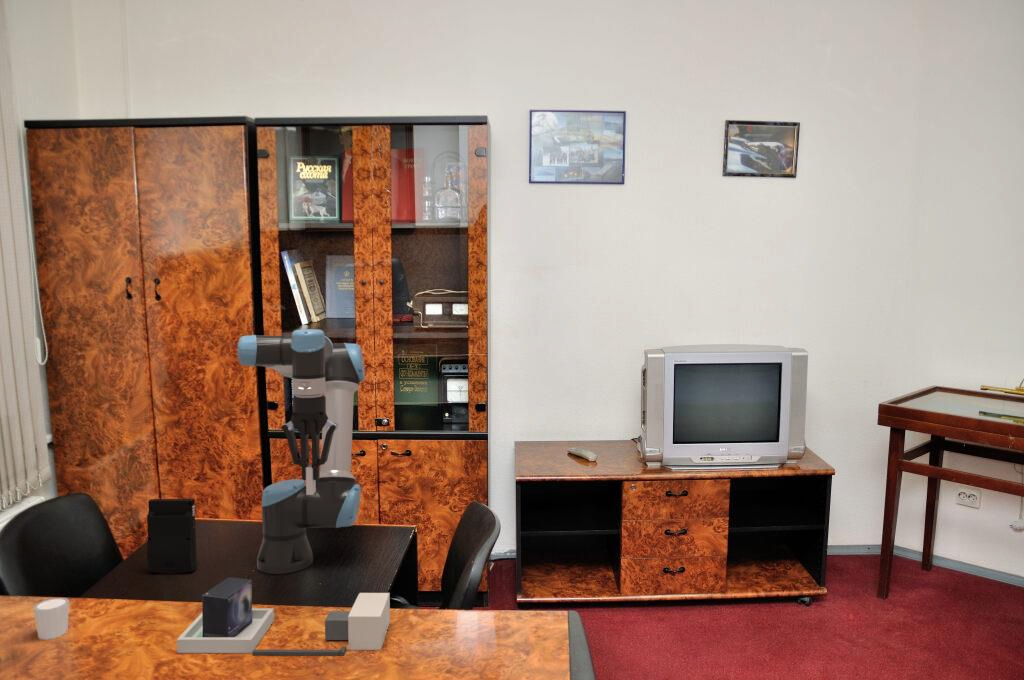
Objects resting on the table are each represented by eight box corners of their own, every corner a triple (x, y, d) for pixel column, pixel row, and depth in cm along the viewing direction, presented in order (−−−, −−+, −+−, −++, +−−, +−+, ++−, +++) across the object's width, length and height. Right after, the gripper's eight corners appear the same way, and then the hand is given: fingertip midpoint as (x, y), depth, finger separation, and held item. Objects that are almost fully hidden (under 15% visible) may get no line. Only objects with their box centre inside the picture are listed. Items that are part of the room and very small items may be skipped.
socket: (359, 623, 170) (358, 592, 170) (389, 624, 170) (389, 592, 170) (347, 649, 158) (347, 616, 158) (380, 649, 158) (380, 616, 158)
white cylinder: (33, 643, 161) (31, 613, 160) (36, 630, 167) (35, 600, 166) (69, 636, 164) (68, 606, 163) (71, 624, 170) (70, 595, 169)
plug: (330, 630, 167) (329, 611, 166) (373, 630, 167) (372, 611, 166) (325, 639, 162) (324, 620, 162) (369, 640, 162) (369, 620, 162)
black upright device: (198, 568, 203) (196, 498, 201) (191, 575, 198) (189, 503, 196) (154, 569, 202) (151, 498, 201) (146, 575, 198) (143, 503, 196)
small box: (228, 644, 159) (227, 597, 158) (201, 641, 160) (199, 595, 159) (254, 622, 169) (253, 578, 168) (228, 619, 170) (227, 576, 169)
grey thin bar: (256, 649, 158) (256, 646, 158) (346, 649, 158) (346, 646, 158) (252, 655, 156) (252, 651, 156) (343, 655, 156) (343, 652, 156)
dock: (206, 620, 172) (205, 608, 172) (274, 620, 172) (273, 608, 172) (177, 652, 157) (176, 639, 157) (251, 653, 157) (251, 639, 157)
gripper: (276, 397, 168) (278, 497, 170) (333, 397, 168) (334, 497, 170) (286, 392, 176) (288, 488, 178) (340, 392, 176) (342, 488, 178)
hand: (311, 493), depth 174 cm, fingers closed
